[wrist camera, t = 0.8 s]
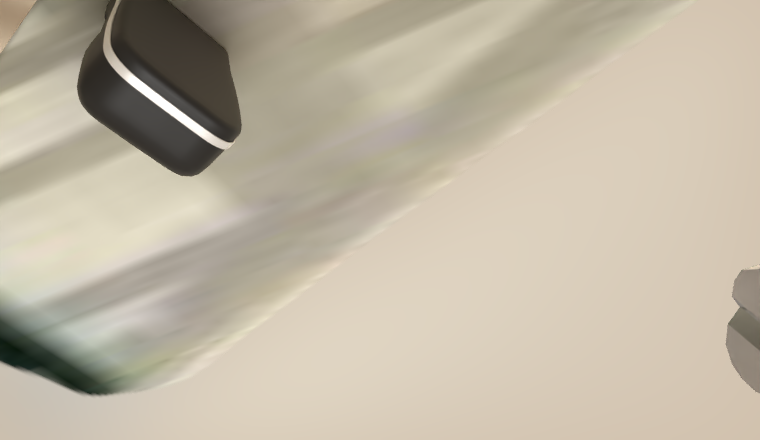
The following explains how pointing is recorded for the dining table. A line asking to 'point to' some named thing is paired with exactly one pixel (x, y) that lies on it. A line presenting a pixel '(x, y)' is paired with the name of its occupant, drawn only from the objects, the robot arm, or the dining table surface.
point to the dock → (12, 17)
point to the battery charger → (161, 85)
